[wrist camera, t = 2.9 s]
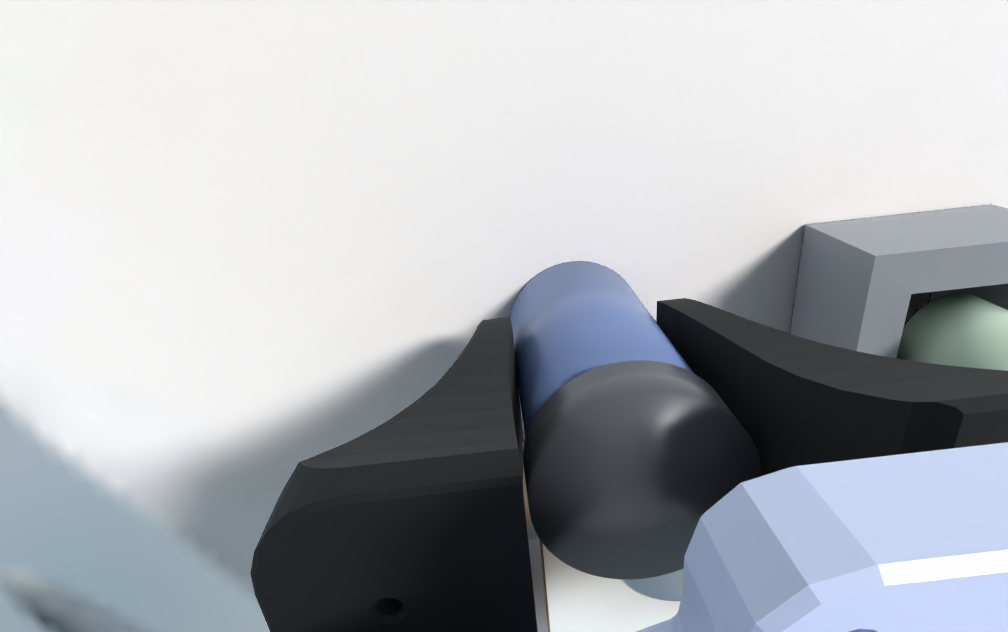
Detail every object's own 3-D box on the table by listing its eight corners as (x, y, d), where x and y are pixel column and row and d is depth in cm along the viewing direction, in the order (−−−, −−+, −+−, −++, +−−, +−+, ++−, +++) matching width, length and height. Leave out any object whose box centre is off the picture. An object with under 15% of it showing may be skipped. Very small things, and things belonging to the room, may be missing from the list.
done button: (976, 370, 12) (1066, 423, 10) (888, 381, 12) (963, 434, 10) (1002, 288, 11) (1105, 329, 9) (908, 298, 11) (993, 342, 9)
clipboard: (778, 620, 18) (798, 655, 17) (515, 650, 18) (518, 687, 17) (814, 409, 15) (842, 436, 14) (488, 445, 15) (489, 475, 14)
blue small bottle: (641, 374, 14) (750, 566, 9) (512, 389, 14) (536, 590, 8) (643, 249, 13) (774, 383, 7) (498, 265, 13) (519, 411, 7)
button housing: (945, 367, 14) (1030, 419, 12) (783, 385, 14) (838, 441, 12) (991, 204, 13) (1100, 231, 10) (805, 224, 13) (875, 255, 10)
